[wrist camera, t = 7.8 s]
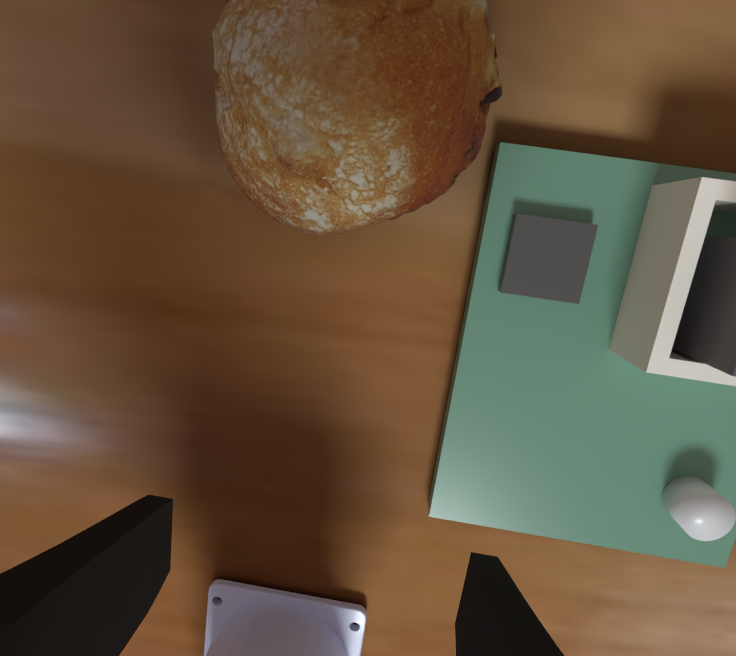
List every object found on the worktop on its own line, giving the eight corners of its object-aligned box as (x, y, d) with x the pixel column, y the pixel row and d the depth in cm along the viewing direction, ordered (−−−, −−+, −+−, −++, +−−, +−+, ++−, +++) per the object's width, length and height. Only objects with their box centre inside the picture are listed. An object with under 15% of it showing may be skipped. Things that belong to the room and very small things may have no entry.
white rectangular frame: (746, 370, 18) (810, 397, 16) (608, 349, 19) (646, 372, 16) (802, 205, 17) (883, 201, 14) (652, 185, 17) (702, 176, 14)
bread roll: (285, 19, 21) (121, -66, 15) (511, -75, 16) (418, -272, 10) (311, 237, 23) (177, 249, 17) (520, 216, 18) (448, 222, 12)
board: (710, 552, 21) (749, 594, 19) (428, 503, 22) (430, 538, 19) (836, 192, 18) (904, 186, 15) (495, 146, 18) (509, 134, 16)
